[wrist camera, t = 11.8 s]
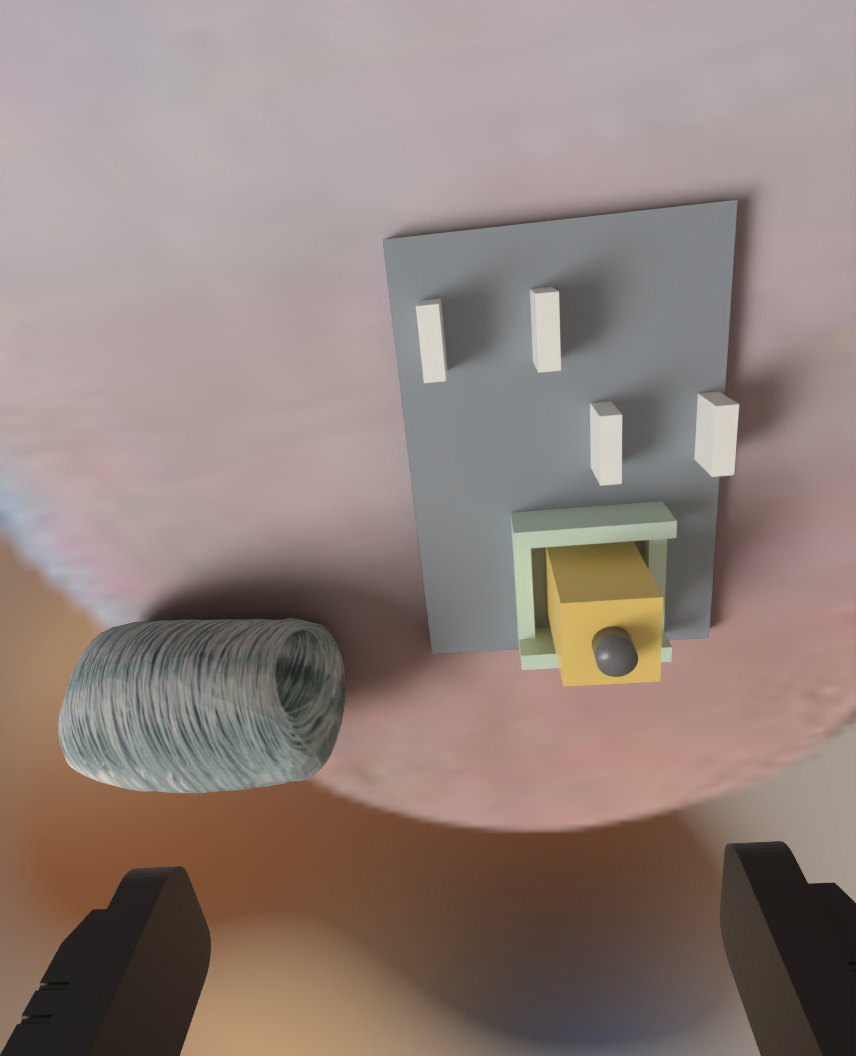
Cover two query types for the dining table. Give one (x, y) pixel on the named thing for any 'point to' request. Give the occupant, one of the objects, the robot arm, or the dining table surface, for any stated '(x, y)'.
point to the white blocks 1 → (543, 334)
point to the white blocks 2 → (710, 443)
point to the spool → (204, 704)
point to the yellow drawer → (604, 614)
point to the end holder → (583, 529)
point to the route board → (560, 399)
